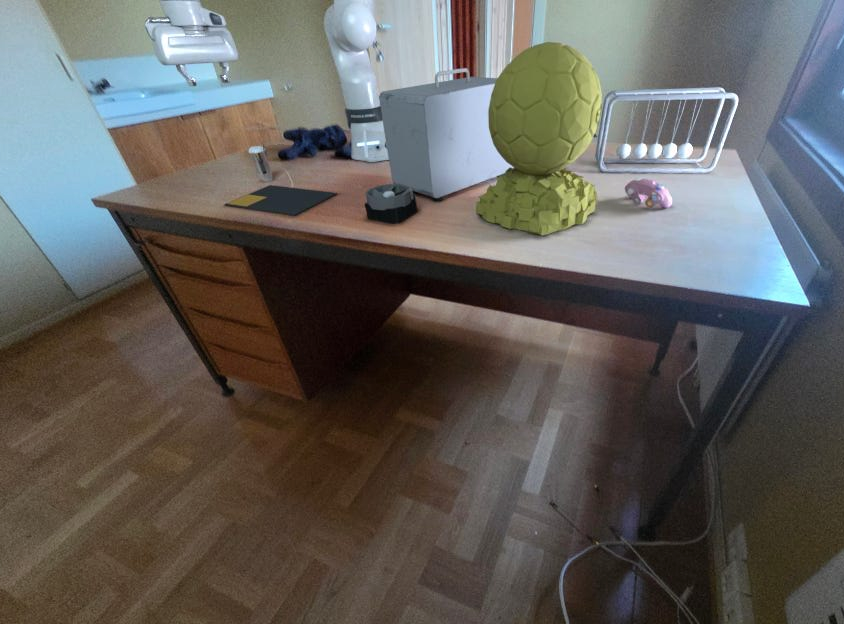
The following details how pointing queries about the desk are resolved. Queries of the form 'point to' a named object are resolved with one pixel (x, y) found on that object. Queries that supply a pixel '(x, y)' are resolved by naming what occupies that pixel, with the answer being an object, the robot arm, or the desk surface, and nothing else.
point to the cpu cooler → (390, 203)
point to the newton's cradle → (656, 148)
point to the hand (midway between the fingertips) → (209, 84)
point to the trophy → (542, 139)
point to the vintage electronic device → (441, 135)
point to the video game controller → (648, 193)
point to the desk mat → (281, 200)
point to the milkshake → (261, 162)
